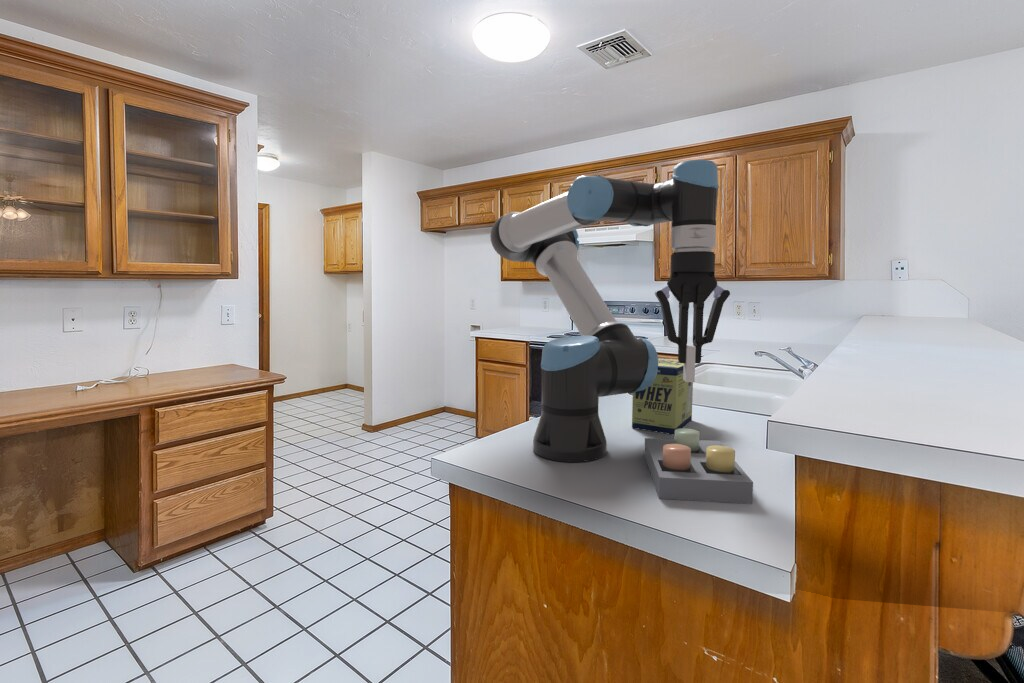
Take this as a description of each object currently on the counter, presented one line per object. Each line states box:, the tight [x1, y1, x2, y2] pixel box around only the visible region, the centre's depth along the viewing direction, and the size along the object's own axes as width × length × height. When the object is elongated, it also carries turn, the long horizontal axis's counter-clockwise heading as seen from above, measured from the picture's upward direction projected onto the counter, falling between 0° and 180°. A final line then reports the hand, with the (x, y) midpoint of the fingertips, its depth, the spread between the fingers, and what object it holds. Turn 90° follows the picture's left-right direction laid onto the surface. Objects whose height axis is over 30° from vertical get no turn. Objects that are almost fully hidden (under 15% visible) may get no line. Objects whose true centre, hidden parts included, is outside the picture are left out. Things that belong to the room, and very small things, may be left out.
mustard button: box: [706, 445, 736, 472], centre depth 82 cm, size 4×4×3 cm
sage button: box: [673, 427, 700, 451], centre depth 93 cm, size 4×4×3 cm
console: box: [643, 437, 754, 505], centre depth 88 cm, size 14×21×4 cm, turn 171°
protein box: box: [631, 357, 694, 435], centre depth 122 cm, size 10×16×16 cm
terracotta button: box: [663, 444, 691, 470], centre depth 83 cm, size 4×4×3 cm
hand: (688, 380), depth 92 cm, fingers closed
